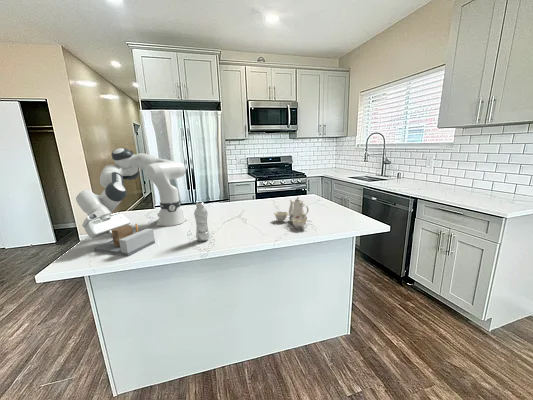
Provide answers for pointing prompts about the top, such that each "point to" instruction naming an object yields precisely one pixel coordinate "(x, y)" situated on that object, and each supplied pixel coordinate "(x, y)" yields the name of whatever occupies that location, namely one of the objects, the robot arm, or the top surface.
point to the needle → (136, 228)
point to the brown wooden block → (121, 234)
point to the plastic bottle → (201, 222)
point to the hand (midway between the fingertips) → (118, 237)
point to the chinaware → (294, 214)
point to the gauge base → (118, 250)
